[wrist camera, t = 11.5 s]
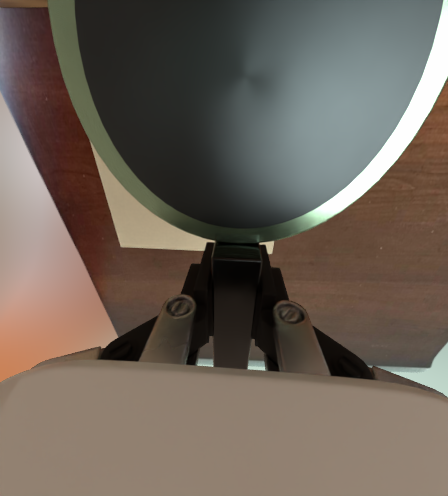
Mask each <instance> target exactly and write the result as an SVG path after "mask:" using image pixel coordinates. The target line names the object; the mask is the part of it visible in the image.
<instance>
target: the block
mask: <svg viewBox="0 0 448 496" xmlns="http://www.w3.org/2000/svg"><path fill="white" fill-rule="evenodd" d="M12 7H48V3H47V0H0V8H12Z"/></svg>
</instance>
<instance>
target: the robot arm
mask: <svg viewBox="0 0 448 496" xmlns="http://www.w3.org/2000/svg"><path fill="white" fill-rule="evenodd" d="M214 244H215V242H207V243H206V247H205V250H204V254H203V257H202V261H201V264H193V263H192V264H191V266H190V269H189V272H188V275H187V277H186V280H185V283H184V286H183V289H182V292H181V294H180V295H175V296H172V297H171V298H169V299H168V300H167V301H165V303H164V304H163V306H162V309H161V311H160V313H159V315H158V316H156V317H154V318H153V319H151V320H149V321H147V322H146V323H144V324H142V325H140V326H138V327H137V328H135V329H133V330H131V331H129V332H128V333H126V334H124V335H122V336H120V337H119V338H117V339H115V340H114V341H112V342H111V343H110V344H109V345H108V346H107V347H106V348H103V349H101V347H95V348H91V349H88V350H84V351H80V352H76V353H72V354H68V355H64V356H61V357H56V358H52V359H49V360H46V361H43V362H41V363H39V364H37V365H36V366H34V367H33V368H31V369H30V370H27V371H24V372H22V373H19V374H17V375H14V376H12V377H10V378H7V379H6V380H4V381H2V382H0V496H448V397H447V396H445V395H444V394H443V393H441V392H439V391H437V390H435V389H433V388H430V387H427V386H425V385H422V384H420V383H417V382H414V381H412V380H409V379H406V378H404V377H401V376H399V375H396V374H393V373H391V372H388V371H386V370H383V369H381V368H378V367H375V366H373V367H372V368H370V367H368V366H367V365H366V364H365V363H364V362H363V361H362V360H361V359H360V358H359V357H358V356H356V355H355V354H353V353H352V352H350V351H349V350H347V349H346V348H345V347H343V346H342V345H340V344H339V343H337V342H336V341H334V340H333V339H331V338H330V337H328V336H327V335H326V334H324V333H323V332H321V331H320V330H318V329H317V328H315V327H314V326H312V324H311V321H310V319H309V316H308V313H307V312H306V310H305V309H304V308H303V307H302V306H301V305H299V304H298V303H296V302H293V301H289V298H288V295H287V291H286V288H285V284H284V281H283V277H282V274H281V271H280V268H273V267H271V266H270V261H269V257H268V252H267V248H266V245H261V244H260V249H261V255H262V260H263V262H262V269H261V276H260V284H259V291H258V295H257V299H256V306H255V314H254V321H253V328H252V336H251V339H255V346H258V347H259V348H260V349H261V350H262V351H263V352H264V362H265V370H266V371H262V370H248V369H235V368H221V367H208V366H197V363H198V358H199V352H200V348H201V347H202V346H203V345H205V344H206V343H209V336H213V294H212V267H211V258H212V253H213V248H214Z"/></svg>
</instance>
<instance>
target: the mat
mask: <svg viewBox="0 0 448 496" xmlns="http://www.w3.org/2000/svg"><path fill="white" fill-rule="evenodd" d="M89 140H90V139H89ZM90 143H91V141H90ZM91 147H92V150H93V153H94V157H95V160H96V164H97V167H98V170H99V174H100V177H101V181H102V184H103V188H104V191H105V194H106V198H107V201H108V205H109V208H110V211H111V215H112V218H113V222H114V225H115V229H116V232H117V235H118V239H119V242H120V246H121V247H132V248H154V249H176V250H198V251H204V250H205V247H206V243H207V242H215V241H213V240H209V239H204V238H201V237H198V236H195V235H192V234H190V233H187V232H185V231H183V230H181V229H178V228H176V227H174V226H172V225H170V224H169V223H167V222H166V221H164V220H162V219H161V218H159V217H157V216H156V215H155V214H153V213H152V212H151V211H149V210H148V209H147V208H145V207H144V206H143V205H142V204H140V203H139V202H138V201H137V200H136V199H135V198H134V197H133V196H132V195H131V194H130V193H129V192H128V191H127V190H126V189H125V188H124V187H123V186H122V185H121V183H120V182H119V181H118V180H117V179H116V178H115V177H114V175H113V174H112V173H111V172H110V170H109V169H108V167H107V166H106V165H105V163H104V162H103V160H102V159H101V157H100V156H99V155H98V153H97V151H96V150H95V148H94V146H93V144H92V143H91ZM259 244H261V245H266V248H267V252H268V254H272V250H273V244H274V241H271V242H263V243H259Z"/></svg>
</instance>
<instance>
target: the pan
mask: <svg viewBox="0 0 448 496" xmlns="http://www.w3.org/2000/svg"><path fill="white" fill-rule="evenodd" d="M47 3H48V10H49V16H50V22H51V28H52V34H53V40H54V45H55V49H56V53H57V57H58V60H59V64H60V68H61V72H62V76H63V79H64V82H65V84H66V87H67V90H68V93H69V96H70V98H71V101H72V104H73V107H74V109H75V111H76V113H77V115H78V117H79V120H80V122H81V124H82V126H83V128H84V130H85V132H86V134H87V136H88V138H89V139H90V141H91V143H92V144H93V146H94V148H95V150H96V151H97V153H98V155H99V156H100V157H101V159H102V160H103V162H104V163H105V165H106V166H107V167H108V169H109V170H110V172H111V173H112V174H113V175H114V177H115V178H116V179H117V180H118V181H119V182H120V183H121V185H122V186H123V187H124V188H125V189H126V190H127V191H128V192H129V193H130V194H131V195H132V196H133V197H134V198H135V199H136V200H137V201H138V202H139V203H140V204H142V205H143V206H144V207H145V208H147V209H148V210H149V211H151V212H152V213H153V214H155V215H156V216H157V217H159V218H161V219H162V220H164V221H166V222H167V223H169V224H170V225H172V226H174V227H176V228H178V229H181V230H183V231H185V232H187V233H190V234H192V235H195V236H198V237H201V238H204V239H209V240H213V241H215V244H214V248H213V253H212V258H211V267H212V294H213V367H221V368H235V369H248V362H249V354H250V347H251V340H252V339H251V336H252V328H253V321H254V314H255V306H256V299H257V295H258V291H259V284H260V276H261V269H262V262H263V260H262V255H261V249H260V244H259V243H263V242H271V241H275V240H279V239H284V238H288V237H291V236H294V235H297V234H299V233H302V232H305V231H307V230H310V229H312V228H314V227H316V226H318V225H320V224H322V223H324V222H326V221H327V220H329V219H331V218H332V217H334V216H336V215H337V214H339V213H341V212H342V211H344V210H345V209H346V208H348V207H349V206H350V205H352V204H353V203H354V202H356V201H357V200H358V199H360V198H361V197H362V196H363V195H364V194H365V193H366V192H367V191H368V190H370V189H371V188H372V187H373V186H374V185H375V184H376V183H377V182H378V181H379V180H380V179H381V178H382V177H383V176H384V175H385V174H386V173H387V172H388V170H389V169H390V168H391V167H392V166H393V165H394V164H395V163H396V162H397V160H398V159H399V158H400V156H401V155H402V154H403V153H404V151H405V150H406V149H407V147H408V146H409V145H410V143H411V142H412V141H413V139H414V138H415V136H416V135H417V133H418V132H419V130H420V129H421V127H422V125H423V124H424V122H425V121H426V119H427V117H428V116H429V114H430V113H431V111H432V109H433V107H434V105H435V103H436V101H437V99H438V97H439V96H440V94H441V92H442V90H443V88H444V86H445V84H446V82H447V80H448V0H47Z"/></svg>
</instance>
